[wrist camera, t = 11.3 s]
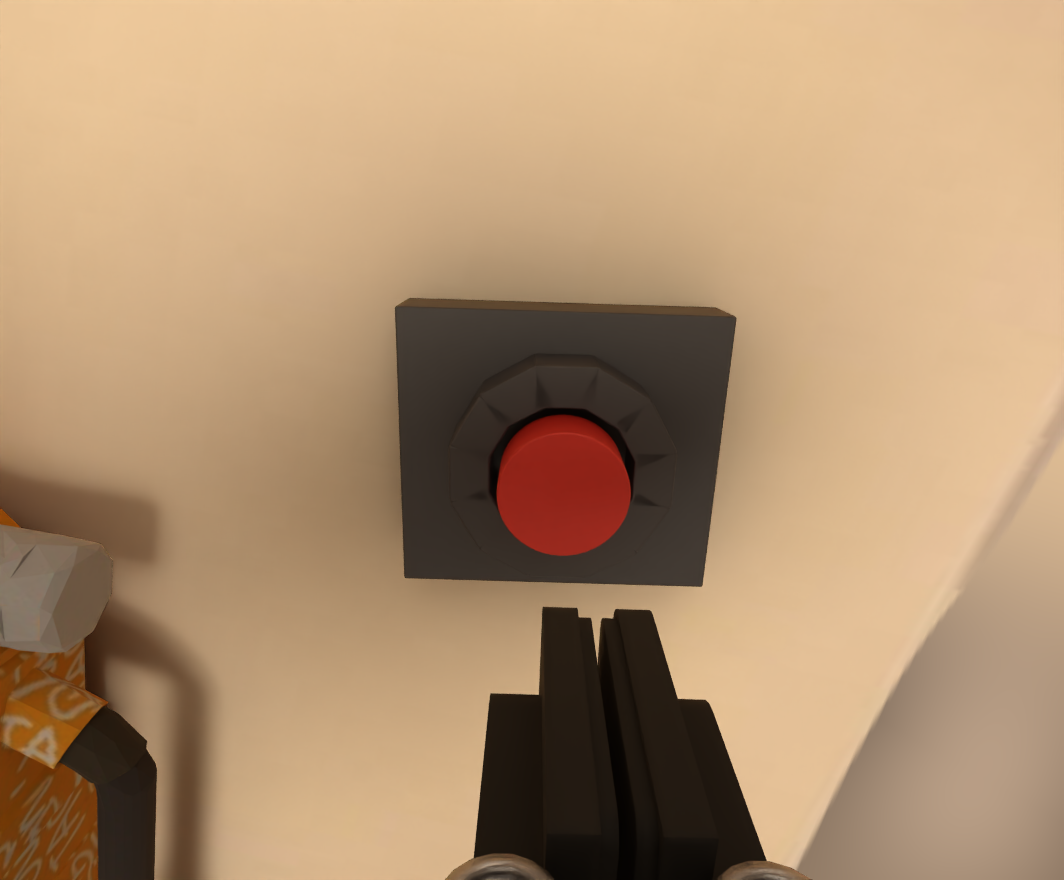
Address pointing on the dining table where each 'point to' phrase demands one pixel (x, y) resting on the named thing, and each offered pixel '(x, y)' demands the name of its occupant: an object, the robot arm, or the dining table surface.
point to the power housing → (555, 389)
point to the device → (64, 723)
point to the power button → (562, 485)
